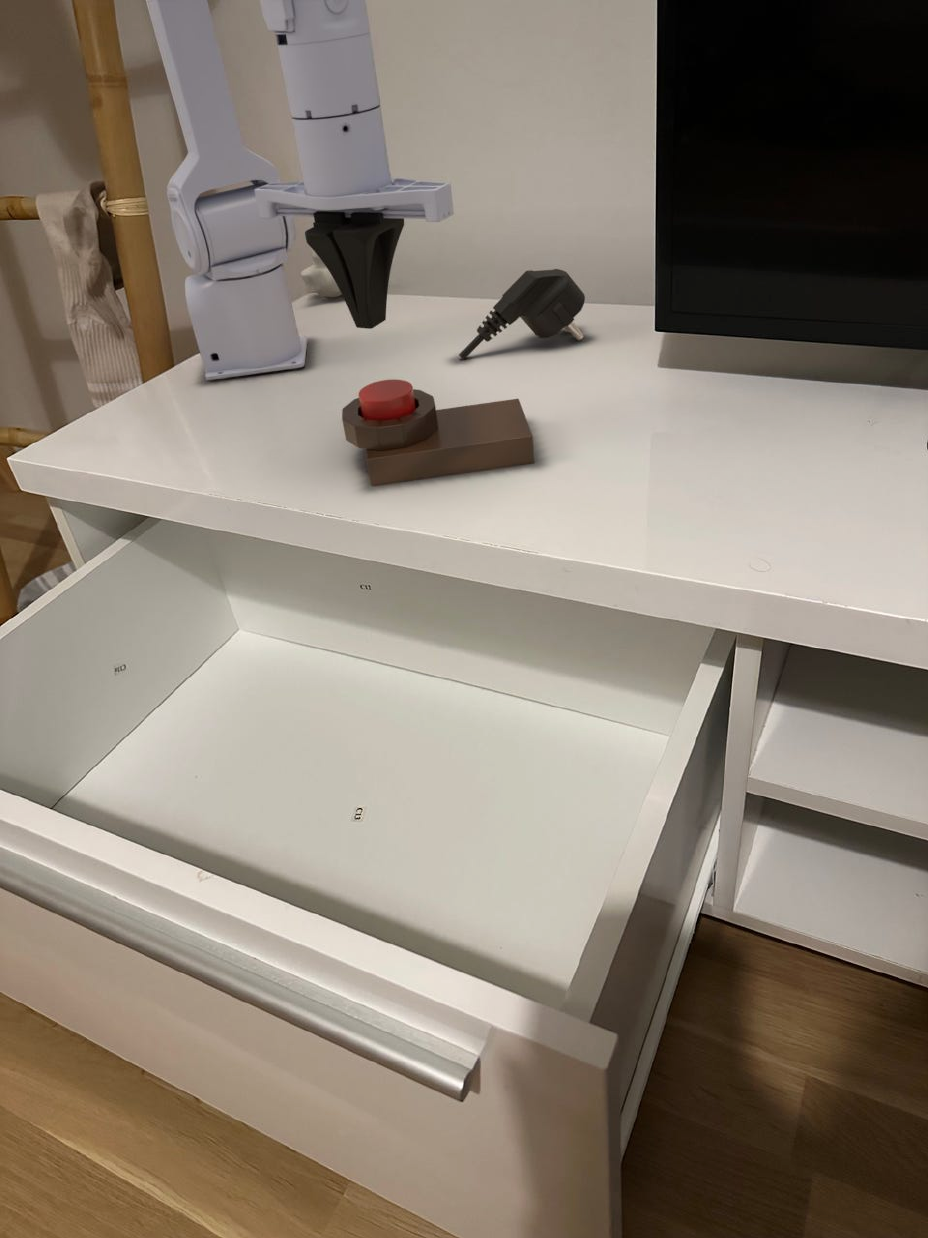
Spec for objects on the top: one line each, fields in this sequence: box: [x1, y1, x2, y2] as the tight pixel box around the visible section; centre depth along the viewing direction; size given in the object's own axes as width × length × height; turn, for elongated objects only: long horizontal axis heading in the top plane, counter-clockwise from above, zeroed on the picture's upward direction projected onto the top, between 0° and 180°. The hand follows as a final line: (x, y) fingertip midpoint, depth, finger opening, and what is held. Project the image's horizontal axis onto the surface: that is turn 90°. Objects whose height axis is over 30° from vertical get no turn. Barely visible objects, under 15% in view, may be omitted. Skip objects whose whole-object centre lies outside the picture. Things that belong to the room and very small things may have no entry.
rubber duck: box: [300, 246, 342, 298], centre depth 103 cm, size 5×7×8 cm
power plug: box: [458, 268, 586, 361], centre depth 86 cm, size 6×8×12 cm
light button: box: [358, 379, 416, 421], centre depth 68 cm, size 4×4×2 cm
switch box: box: [341, 388, 535, 487], centre depth 69 cm, size 13×8×4 cm, turn 96°
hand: (371, 323), depth 66 cm, fingers closed
